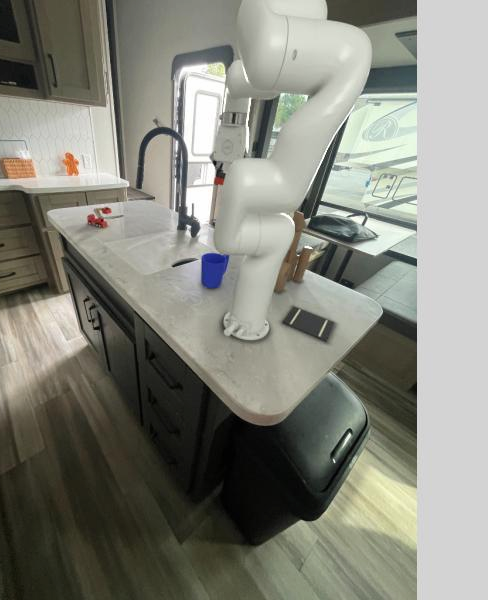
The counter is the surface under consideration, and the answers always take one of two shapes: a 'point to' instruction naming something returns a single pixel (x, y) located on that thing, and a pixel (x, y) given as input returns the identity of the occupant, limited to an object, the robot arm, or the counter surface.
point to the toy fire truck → (100, 219)
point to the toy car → (220, 178)
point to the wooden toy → (294, 257)
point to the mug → (213, 269)
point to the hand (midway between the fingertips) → (227, 184)
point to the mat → (309, 323)
